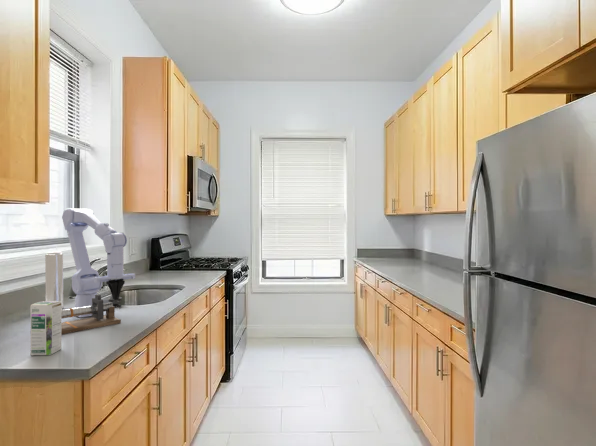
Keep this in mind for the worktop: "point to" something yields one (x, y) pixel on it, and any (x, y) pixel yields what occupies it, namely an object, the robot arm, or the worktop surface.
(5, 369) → the worktop surface
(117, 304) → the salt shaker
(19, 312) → the worktop surface
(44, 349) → the syrup box
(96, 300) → the grey pipe bracket
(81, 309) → the pipe stand
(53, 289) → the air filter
